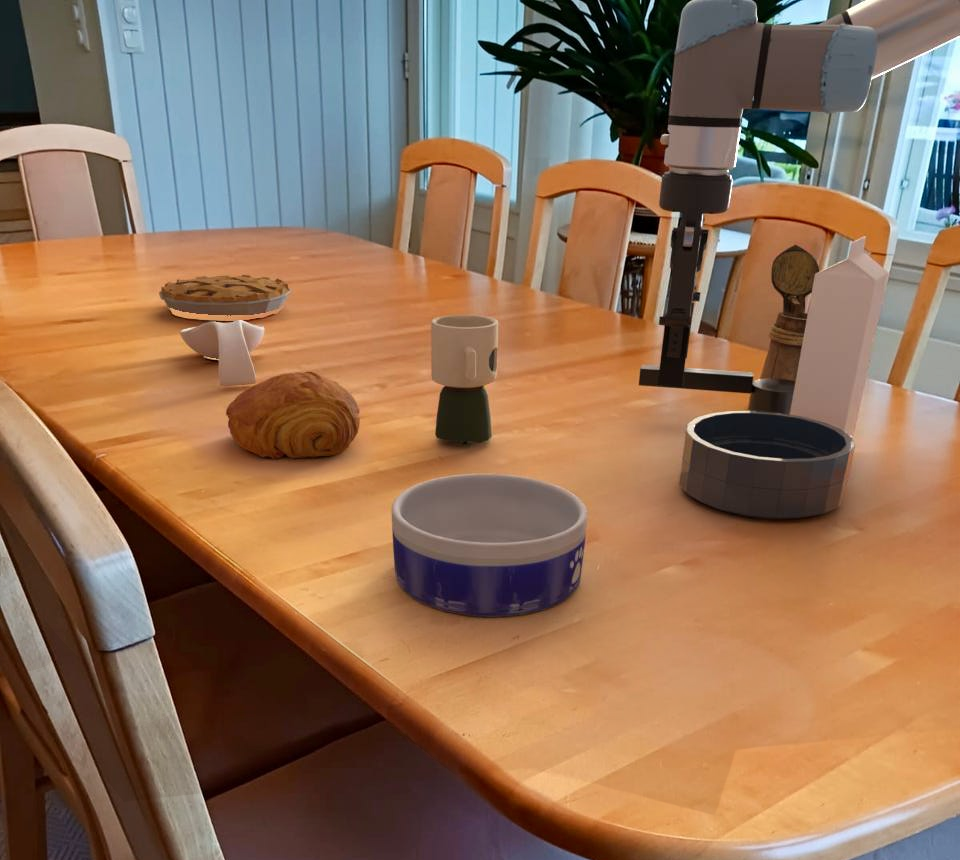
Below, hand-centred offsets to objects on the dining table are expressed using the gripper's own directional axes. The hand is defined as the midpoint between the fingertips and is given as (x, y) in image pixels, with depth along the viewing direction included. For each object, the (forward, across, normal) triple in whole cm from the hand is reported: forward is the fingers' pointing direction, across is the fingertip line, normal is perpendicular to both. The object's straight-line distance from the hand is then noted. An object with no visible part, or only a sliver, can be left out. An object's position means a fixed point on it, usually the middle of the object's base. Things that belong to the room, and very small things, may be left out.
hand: (672, 370), depth 115 cm
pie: (+7, -43, -78) cm, 89 cm away
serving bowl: (+6, +23, +10) cm, 26 cm away
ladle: (+6, 0, +6) cm, 8 cm away
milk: (+6, +9, +17) cm, 20 cm away
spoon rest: (+7, -8, -61) cm, 62 cm away
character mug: (+6, +15, -22) cm, 27 cm away
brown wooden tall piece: (+6, -12, +14) cm, 20 cm away
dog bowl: (+6, +48, -12) cm, 50 cm away
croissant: (+6, +20, -40) cm, 45 cm away
